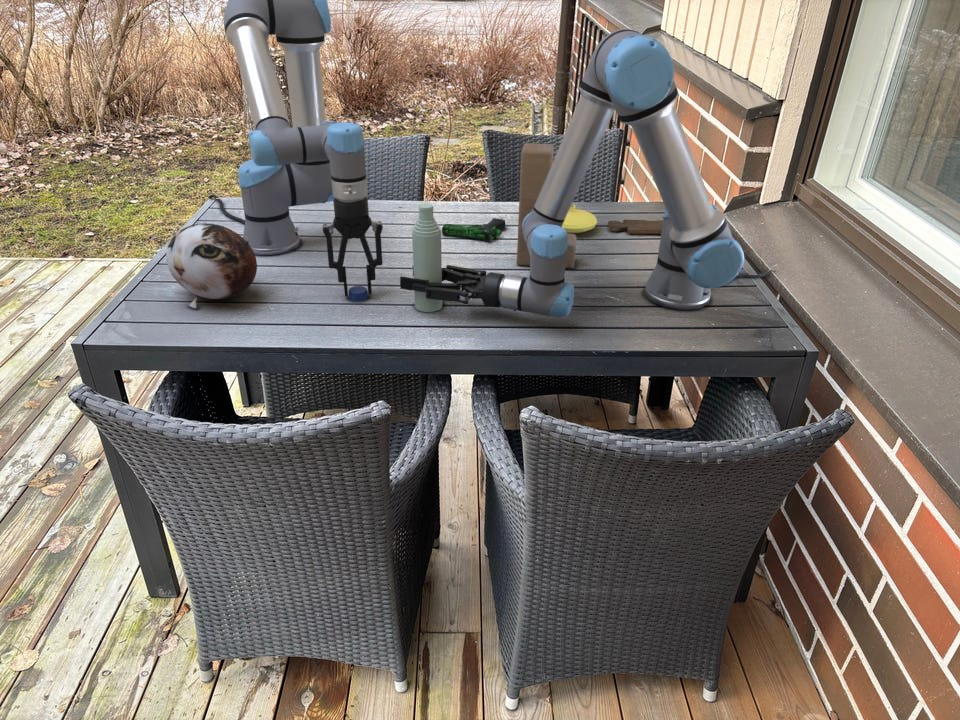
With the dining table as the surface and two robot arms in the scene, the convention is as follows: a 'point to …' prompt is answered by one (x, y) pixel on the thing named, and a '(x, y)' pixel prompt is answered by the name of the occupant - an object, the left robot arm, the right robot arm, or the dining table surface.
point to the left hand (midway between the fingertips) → (358, 293)
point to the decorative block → (536, 195)
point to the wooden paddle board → (637, 226)
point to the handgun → (476, 230)
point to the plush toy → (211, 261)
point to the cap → (358, 293)
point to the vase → (578, 221)
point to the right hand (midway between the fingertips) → (407, 276)
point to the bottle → (427, 256)
